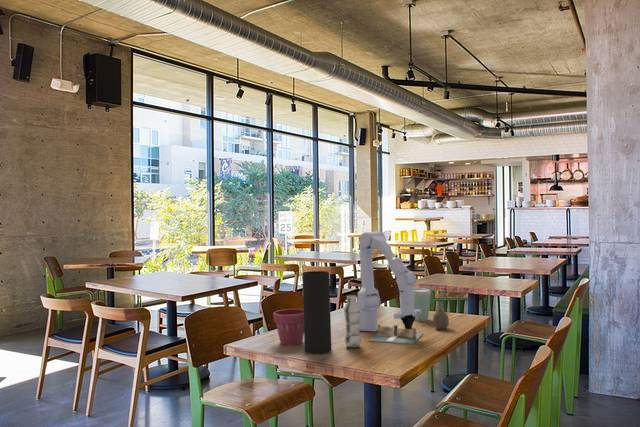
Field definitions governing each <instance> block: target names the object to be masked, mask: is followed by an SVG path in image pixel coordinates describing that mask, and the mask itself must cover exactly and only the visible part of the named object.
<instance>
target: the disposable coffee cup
mask: <svg viewBox="0 0 640 427" xmlns="http://www.w3.org/2000/svg"><path fill="white" fill-rule="evenodd" d="M413 288H414V310H415V309H421V314H417V315H413V316H414V317H415V320H414V321H417V322H425V321H428V319H429V314H430V305H431V304H430V303H431V295H432V290H430V289H428V288H425V287H413Z"/></svg>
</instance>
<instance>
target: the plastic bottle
mask: <svg viewBox="0 0 640 427" xmlns="http://www.w3.org/2000/svg"><path fill="white" fill-rule="evenodd" d="M343 313H344V321H345V336H344V343H345V346H346V347H347V348H352V349H353V348H359V347H361V344H362V336H361V330H360V329H359V317H360V307H359V306H358V304H357V295H355V294H353V295H347V296H346V304H345V305H344V307H343Z"/></svg>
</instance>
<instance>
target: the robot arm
mask: <svg viewBox="0 0 640 427" xmlns="http://www.w3.org/2000/svg"><path fill="white" fill-rule="evenodd" d="M377 249H378V250H379V252H380V253H381V254H382V255H383V256H384V258H385V259H386V260H387V261H388V268H389V269H390V270H391V272H392V273H393V274H394V275H395V277H396V279H395V282H396V284H397V286H398V291H399V307H400V309H399V310H400V311H398V312H396V313H393V319H395V320H399V319H400V320H401V322H402V323H403V325H404V328H406V329H413V325H414V322H415V321H416V320H415V317H414V316H413V315H417V314H421V309H415V310H414V288H415V287H414V285H415V284H416V282H417V276H416V275H415V272H414V271H411V270H410V269H408V268H407V266H406V265H405V264H404V262H403V260H402V259H401V258H400V257H396V256H395V254H394V252H393V251H392V249H391V247H390V246H389V243H388V242H387V237H386V236H385V234H384V232H382V231H381V230H378V231H365V232H363V233H362V234H360V235H359V260H360V263H359V264H360V276H361V277H360V278H361V289H360V290H359V291H358V292H357V297H356V299H357V301H356V303H357V304H358V306H359V307H360V317H359V329H360V332H362V331H363V332H364V331H365V332H378V309H379V307H380V305H381V302H382V301H381V297H380V294H379V290H378V289H377V288H375V280H374V279H375V278H374V266H373V265H374V263H373V252H374V251H375V250H377Z"/></svg>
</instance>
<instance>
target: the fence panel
mask: <svg viewBox="0 0 640 427" xmlns="http://www.w3.org/2000/svg"><path fill="white" fill-rule="evenodd" d="M416 333H417V328H412V329H406V328H405V327H400V326H398V328H397V336H403V337H409V338H416Z"/></svg>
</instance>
